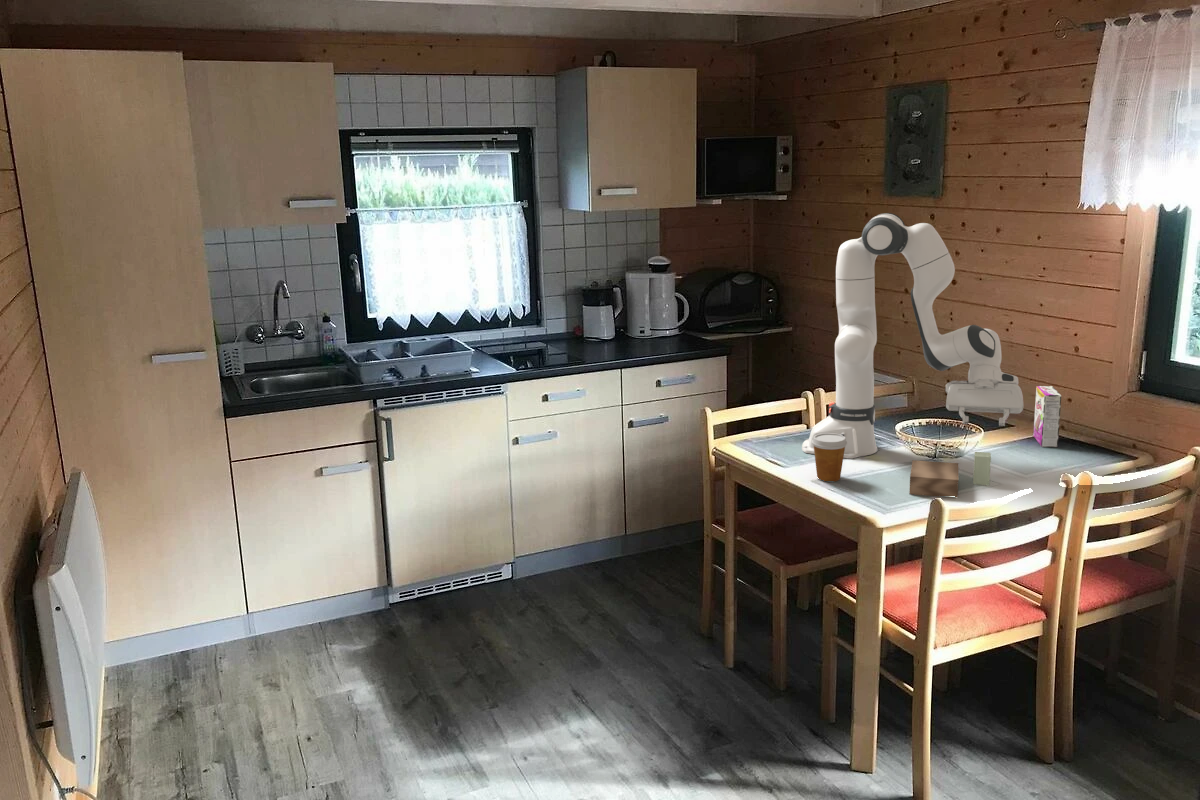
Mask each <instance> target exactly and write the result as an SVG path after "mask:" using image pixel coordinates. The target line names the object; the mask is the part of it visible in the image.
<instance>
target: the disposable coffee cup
mask: <svg viewBox="0 0 1200 800" xmlns="http://www.w3.org/2000/svg"><path fill="white" fill-rule="evenodd" d="M812 443H813V446H814V453H815V454H814V459H815V460H814V461H815V468H816V470H815V471H816V476H817V477H818V478H819V479H821V480H824V481H823V482H825V481H834V482H838V481H840V480H841V476H842V468H843V462H844V458H843V457H844V451H845V446H846V444H847V441H846V439H845V437H844V436H843V435H840V434H834V433H822V434H817V435H815V436H814V438H813V440H812ZM817 477H816V478H817ZM818 478H817V479H818ZM819 479H818V480H819ZM821 480H820V481H821Z"/></svg>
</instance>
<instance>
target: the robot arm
mask: <svg viewBox="0 0 1200 800" xmlns="http://www.w3.org/2000/svg"><path fill="white" fill-rule="evenodd" d="M837 251H838V252H837V256H836V264H835V299H836V300H835V304H836V310H837V311H836V312H837V320H838V335H837V337H836V338H835V342H834V367H835V368H834V369H835V385H836V386H835V402H834V401H830V403H829V405H828V416H827V417H824V418H823V419H822V420H820V421H819V422H817V423H816V424H815V425H814V426H813V427H812V428H811V431H810V434H809V438H807V439H804V441H803V442H802V445H801V450H802V452H803V453H806V454H811V455H815V453H814V446H813V443H812V440H813V438H814V436H815V435H817V434H822V433H834V434H840V435H843V436H844V437H845V439H846V441H847V444H846V446H845V451H844V457H843V459H857V458H859V457H864V456H871V455H873V454H875V453H877V452H878V446H877V443H876V438H875V437H876V436H875V425H874V424H875V420H876V419H875V418H876V408H875V404H874V394H875V390H874V389H875V385H874V384H875V377H874V371H875V370H874V351H875V346H876V345H877V342H878V335H877V334H878V331H877V330H878V329H877V313H876V298H875V297H876V294H875V292H876V291H875V290H876V289H875V287H876V283H875V281H876V280H875V279H876V278H875V276H876V273H875V264H876V259H877V257H878V256H889V255H895V254H902V256H904V258H905V260H906V261H907V263H908V265H909V268H910V270H911V273H912V275H913V286H912V288H911V290H910V301H911V305H912V309H913V313H914V317H915V321H916V324H917V328H918V331H919V335H920V338H921V344H922V352H923V357H924V360H925V362H926V363H927V365H928V366H929V367H931V368H932V369H934V370H936V371H940V372H944V371H946V370H949V369H952V368H954V367H956V366H957V365H961V364H965V363H969V369H968V373H967V380H951V381H949V382H947V383H946V384H945V393H946V394H947V395H946V400H945V401H946V403H945V408H946V409H947V410H948V411H950V412H951V411H953V412H958V415H959V416H960V418H961V420H962V425H969V418H970V417H969V416H968V415H966V414H965V412H970V413H971V412H973V413H996V414H998V413H999V414H1003V416H1002V417H999V419H998V426H999V427H1003V426H1004V427H1005V426H1006V421H1007V419H1008V418H1009V417H1010V414H1020V413H1022V412H1023V410H1024V395H1023V392H1022V388H1021V386H1019V377H1018V376H1017V375H1013V374H1010V373H1005V372H1003V371H1002V369H1001V363H1002V344H1001V339H1000V337H999V335H998V333H997V332H996V331H995V330H993V329H990V328H984V327H981V326H980V325H977V324H971V325H967V326H964V327H960V328H958V329H956V330H953V331H949V332H947V333H944V334H941V333H940V332H939V329H938V326H937V323H936V318H935V314H934V311H933V304H934V301H935V300H936V299H937V297H938V296H939V295H940V294H941V293H942V292H943V291H945V290H946V288H947V287H948V286H949V285H950V284H951V282H952V281H953V279H954V276H955V273H956V272H955V271H956V268H955V263H954V261H953V257H952V256H951V253H950V252H949V249H948V248H947V246H946V244H945V242H944V241H943V239H942V237H941V236H940V234H939V232H938V231H937V230H936V228H935V227H934V226H933V225H932V224H930V223H926V222H920V223H915V224H914V225H911V226H907V225H905V222H904V221H903V219H902V218H901V217H900V216H898V215H897V214H896V213H892V212H886V213H880V214H877V215H876V216H874V217H872V218H871V219H870V220H869V221H868V222H867V223H866V224H865V226H864V227H863V230H862V232H861V237H859V238H854V239H849V240H846V241H844V242H843V243H841V244H840V246H839V248H838V250H837Z"/></svg>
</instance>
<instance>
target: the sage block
mask: <svg viewBox="0 0 1200 800" xmlns="http://www.w3.org/2000/svg"><path fill="white" fill-rule="evenodd" d="M973 457H974V458H973V474H972V485H978V486H990V477H991V464H992V463H991V462H992V461H991V460H992V453H991V452H985V451H984V452H983V451H974V456H973Z"/></svg>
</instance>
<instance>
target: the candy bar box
mask: <svg viewBox="0 0 1200 800" xmlns="http://www.w3.org/2000/svg"><path fill="white" fill-rule="evenodd" d="M1061 405H1062V395H1061V393H1060V392H1059V391H1058V390H1056V389H1055V387H1054V386H1052V385H1050V386H1049V385H1048V386H1047V385H1043V386H1042V385H1039V386H1037V385H1036V388H1035V406H1034V420H1033V433H1032V436H1033V438H1034V439H1035V441H1037V443H1038V444H1039V445H1040V447H1042V448H1058V446H1059V433H1060V422H1061V421H1060V419H1061V416H1060V415H1061Z"/></svg>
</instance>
